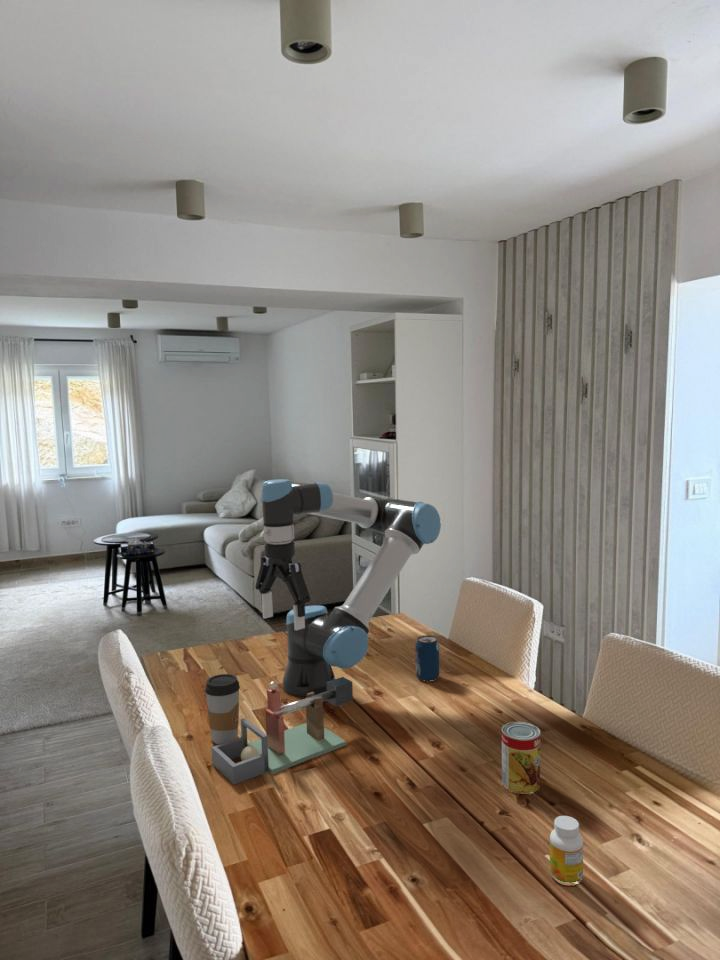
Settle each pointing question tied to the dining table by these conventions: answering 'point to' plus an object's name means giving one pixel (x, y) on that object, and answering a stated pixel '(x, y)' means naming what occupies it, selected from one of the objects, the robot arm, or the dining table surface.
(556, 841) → the supplement bottle
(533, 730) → the canned food
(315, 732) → the foosball player figure
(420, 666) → the soda can
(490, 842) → the dining table surface
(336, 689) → the stand
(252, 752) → the ball
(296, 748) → the mat
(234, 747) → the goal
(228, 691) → the coffee cup
